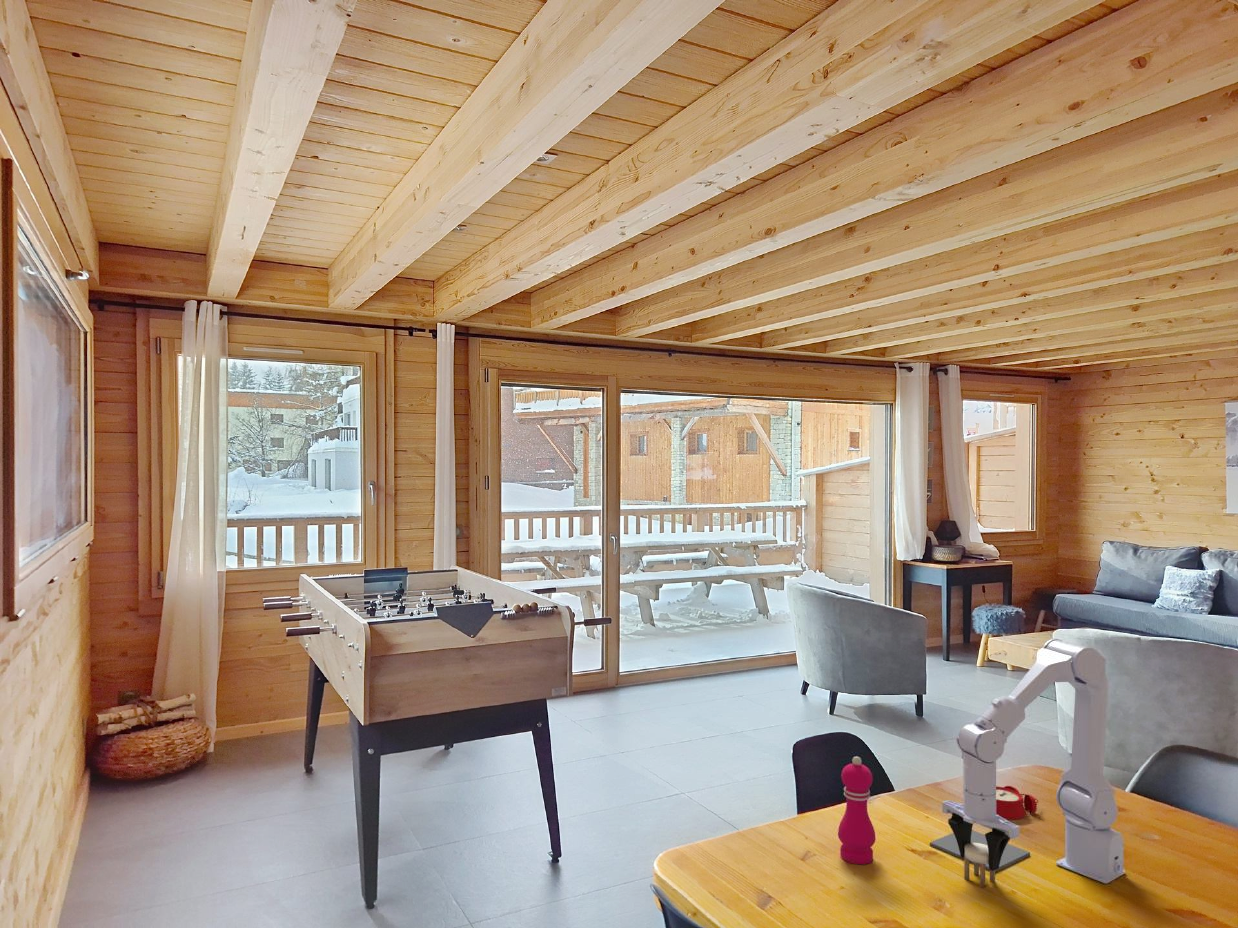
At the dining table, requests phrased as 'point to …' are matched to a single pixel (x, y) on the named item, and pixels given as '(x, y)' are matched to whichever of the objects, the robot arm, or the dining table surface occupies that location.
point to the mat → (951, 845)
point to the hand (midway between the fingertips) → (979, 862)
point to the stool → (977, 861)
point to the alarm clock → (1013, 803)
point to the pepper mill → (856, 815)
